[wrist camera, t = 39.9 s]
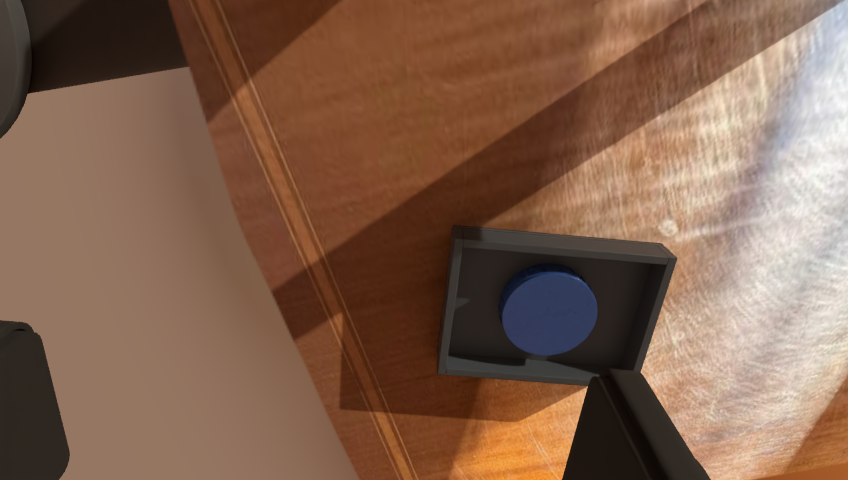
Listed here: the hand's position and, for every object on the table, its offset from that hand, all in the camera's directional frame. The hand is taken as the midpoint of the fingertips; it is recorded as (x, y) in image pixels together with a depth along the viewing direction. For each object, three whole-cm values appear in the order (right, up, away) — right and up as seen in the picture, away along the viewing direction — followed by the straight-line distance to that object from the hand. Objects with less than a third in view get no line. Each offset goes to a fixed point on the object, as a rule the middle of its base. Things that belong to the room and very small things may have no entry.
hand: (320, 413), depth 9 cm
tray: (+11, -2, +29) cm, 31 cm away
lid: (+11, -2, +28) cm, 30 cm away
